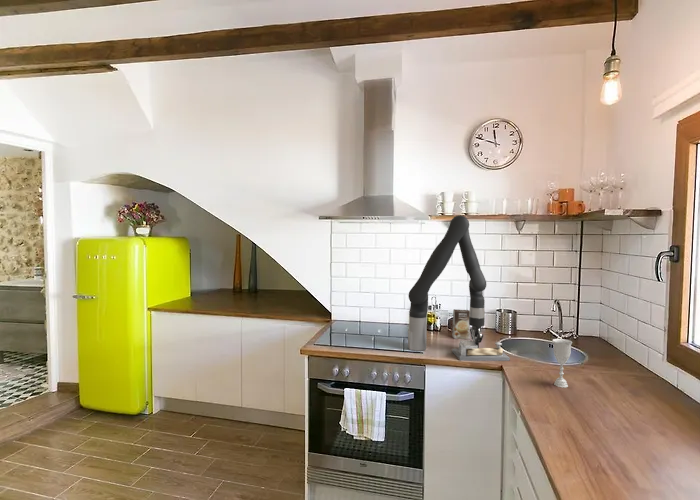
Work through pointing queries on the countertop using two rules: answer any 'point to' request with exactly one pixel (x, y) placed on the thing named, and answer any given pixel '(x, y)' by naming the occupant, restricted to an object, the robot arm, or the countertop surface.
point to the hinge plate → (482, 356)
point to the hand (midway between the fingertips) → (476, 349)
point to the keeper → (466, 346)
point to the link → (484, 351)
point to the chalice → (561, 358)
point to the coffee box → (461, 324)
